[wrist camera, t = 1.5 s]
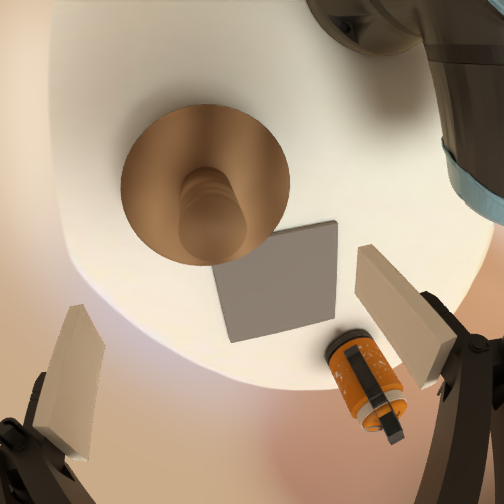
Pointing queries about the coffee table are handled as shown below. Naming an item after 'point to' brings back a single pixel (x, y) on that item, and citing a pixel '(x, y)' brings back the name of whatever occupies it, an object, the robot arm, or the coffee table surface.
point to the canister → (368, 384)
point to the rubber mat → (281, 283)
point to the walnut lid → (205, 185)
